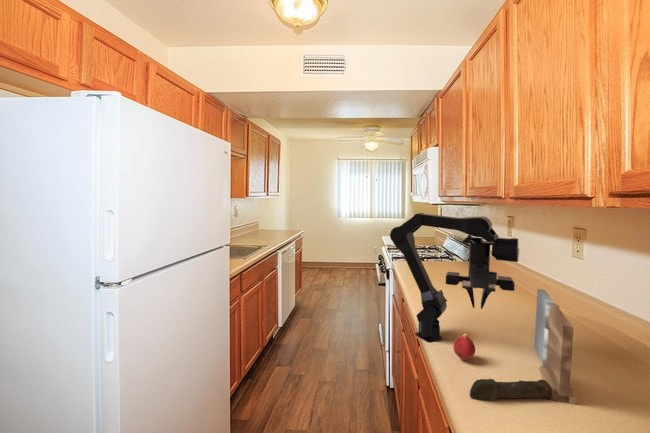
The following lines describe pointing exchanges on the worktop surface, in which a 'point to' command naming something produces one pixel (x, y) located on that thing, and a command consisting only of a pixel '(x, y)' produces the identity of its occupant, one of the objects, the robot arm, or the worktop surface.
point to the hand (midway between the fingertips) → (477, 308)
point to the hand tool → (510, 389)
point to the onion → (464, 347)
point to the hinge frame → (558, 354)
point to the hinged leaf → (541, 321)
